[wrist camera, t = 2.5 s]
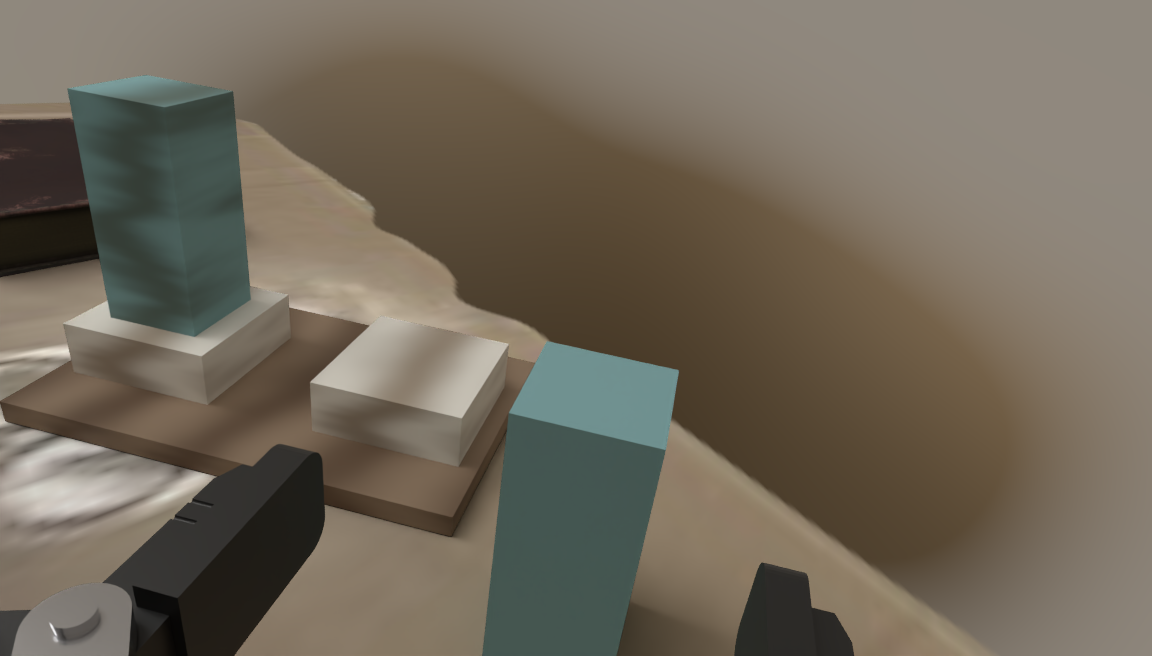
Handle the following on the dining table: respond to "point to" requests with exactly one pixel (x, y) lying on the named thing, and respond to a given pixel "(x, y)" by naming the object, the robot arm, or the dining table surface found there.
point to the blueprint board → (267, 427)
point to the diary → (42, 197)
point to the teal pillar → (575, 502)
